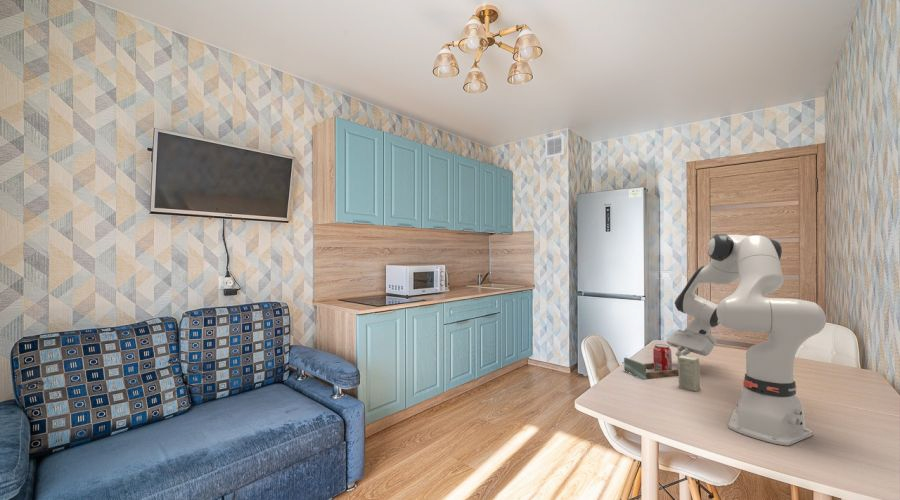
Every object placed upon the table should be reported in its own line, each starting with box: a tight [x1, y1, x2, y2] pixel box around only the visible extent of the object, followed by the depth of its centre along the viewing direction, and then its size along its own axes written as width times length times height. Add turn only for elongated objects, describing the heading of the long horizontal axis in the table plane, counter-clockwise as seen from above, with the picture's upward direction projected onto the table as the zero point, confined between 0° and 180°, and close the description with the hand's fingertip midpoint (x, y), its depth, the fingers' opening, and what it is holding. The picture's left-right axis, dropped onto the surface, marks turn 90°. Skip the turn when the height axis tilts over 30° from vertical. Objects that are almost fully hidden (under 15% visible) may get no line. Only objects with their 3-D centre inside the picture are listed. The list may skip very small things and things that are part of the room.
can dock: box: [623, 357, 679, 380], centre depth 163 cm, size 18×12×6 cm, turn 104°
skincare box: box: [677, 355, 701, 392], centre depth 144 cm, size 6×4×12 cm
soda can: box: [652, 343, 673, 372], centre depth 164 cm, size 7×7×12 cm
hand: (678, 356), depth 167 cm, fingers closed
